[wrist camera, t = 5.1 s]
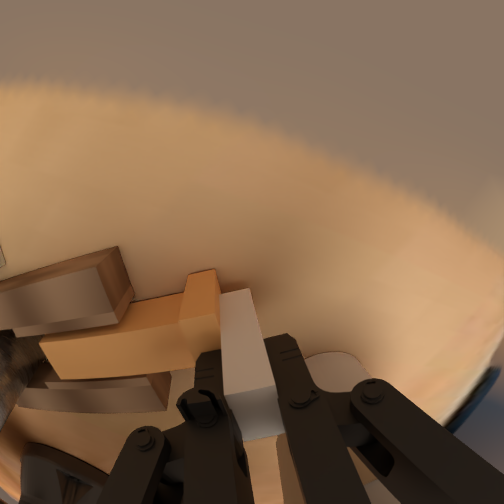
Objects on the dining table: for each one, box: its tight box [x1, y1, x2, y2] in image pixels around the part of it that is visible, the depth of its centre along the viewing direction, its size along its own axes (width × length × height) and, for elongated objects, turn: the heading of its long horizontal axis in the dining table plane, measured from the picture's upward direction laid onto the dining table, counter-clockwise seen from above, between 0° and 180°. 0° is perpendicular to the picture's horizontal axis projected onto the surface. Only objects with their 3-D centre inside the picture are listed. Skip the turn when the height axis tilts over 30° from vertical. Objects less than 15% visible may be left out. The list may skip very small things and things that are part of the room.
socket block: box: [0, 246, 171, 413], centre depth 13 cm, size 14×9×3 cm, turn 101°
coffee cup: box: [276, 352, 401, 504], centre depth 11 cm, size 9×9×15 cm
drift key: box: [39, 269, 221, 379], centre depth 12 cm, size 10×4×4 cm, turn 101°
